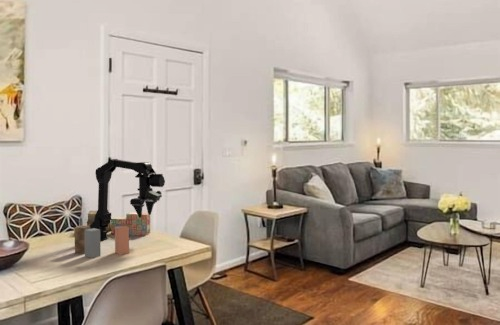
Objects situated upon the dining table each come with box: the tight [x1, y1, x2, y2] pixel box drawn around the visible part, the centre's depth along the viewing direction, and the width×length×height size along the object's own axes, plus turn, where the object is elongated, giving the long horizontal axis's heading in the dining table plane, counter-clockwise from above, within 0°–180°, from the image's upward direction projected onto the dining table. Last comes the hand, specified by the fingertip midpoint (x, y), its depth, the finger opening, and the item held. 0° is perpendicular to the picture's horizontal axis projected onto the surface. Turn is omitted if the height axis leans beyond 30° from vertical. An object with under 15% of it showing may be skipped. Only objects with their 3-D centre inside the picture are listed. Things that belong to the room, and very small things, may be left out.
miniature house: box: [86, 210, 111, 233], centre depth 258 cm, size 15×14×11 cm
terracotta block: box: [114, 226, 130, 256], centre depth 209 cm, size 5×5×12 cm
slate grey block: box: [84, 228, 102, 259], centre depth 203 cm, size 5×5×12 cm
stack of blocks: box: [110, 211, 151, 236], centre depth 251 cm, size 21×6×12 cm, turn 85°
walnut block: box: [74, 225, 90, 255], centre depth 210 cm, size 5×5×12 cm
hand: (145, 216), depth 227 cm, fingers open, 9 cm apart
